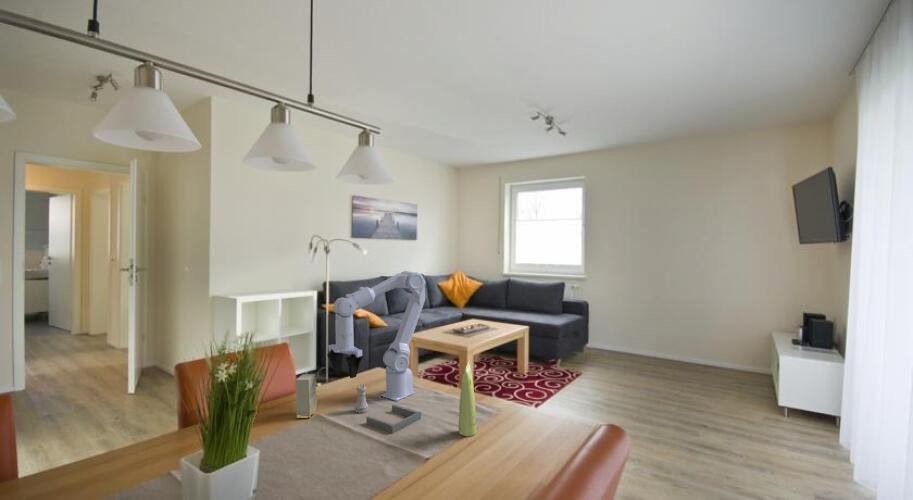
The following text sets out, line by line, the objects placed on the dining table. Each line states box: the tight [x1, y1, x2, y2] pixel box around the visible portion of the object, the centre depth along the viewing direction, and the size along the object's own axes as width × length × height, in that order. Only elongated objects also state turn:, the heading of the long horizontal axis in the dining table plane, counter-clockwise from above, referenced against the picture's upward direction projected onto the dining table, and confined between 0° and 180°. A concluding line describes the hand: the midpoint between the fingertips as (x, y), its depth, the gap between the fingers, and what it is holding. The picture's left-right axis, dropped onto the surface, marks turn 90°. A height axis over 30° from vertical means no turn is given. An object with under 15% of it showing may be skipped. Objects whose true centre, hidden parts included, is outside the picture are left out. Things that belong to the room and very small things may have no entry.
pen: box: [365, 404, 422, 434], centre depth 127 cm, size 12×11×2 cm
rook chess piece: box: [354, 384, 370, 413], centre depth 135 cm, size 4×4×8 cm
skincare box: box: [295, 373, 318, 416], centre depth 132 cm, size 6×4×12 cm
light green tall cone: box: [458, 360, 477, 437], centre depth 118 cm, size 6×5×20 cm
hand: (345, 375), depth 139 cm, fingers open, 7 cm apart
